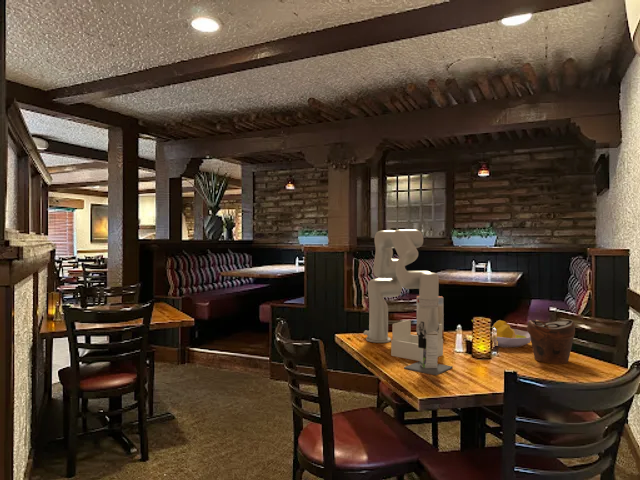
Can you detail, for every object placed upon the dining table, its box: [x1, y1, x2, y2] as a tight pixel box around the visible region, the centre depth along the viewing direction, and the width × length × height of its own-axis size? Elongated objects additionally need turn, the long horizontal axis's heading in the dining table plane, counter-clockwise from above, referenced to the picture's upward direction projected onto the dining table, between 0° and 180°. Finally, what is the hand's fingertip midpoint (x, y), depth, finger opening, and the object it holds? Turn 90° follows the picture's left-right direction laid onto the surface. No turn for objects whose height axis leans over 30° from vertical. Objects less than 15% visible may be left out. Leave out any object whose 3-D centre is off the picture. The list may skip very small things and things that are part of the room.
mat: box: [403, 361, 454, 376], centre depth 188 cm, size 14×14×1 cm
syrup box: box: [420, 331, 439, 368], centre depth 188 cm, size 6×6×14 cm
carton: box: [390, 319, 444, 362], centre depth 209 cm, size 17×17×14 cm
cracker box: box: [416, 295, 445, 336], centre depth 256 cm, size 14×6×21 cm, turn 84°
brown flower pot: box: [526, 319, 576, 365], centre depth 202 cm, size 18×20×18 cm
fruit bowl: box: [470, 319, 531, 348], centre depth 233 cm, size 28×27×11 cm
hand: (428, 345), depth 188 cm, fingers open, 9 cm apart
